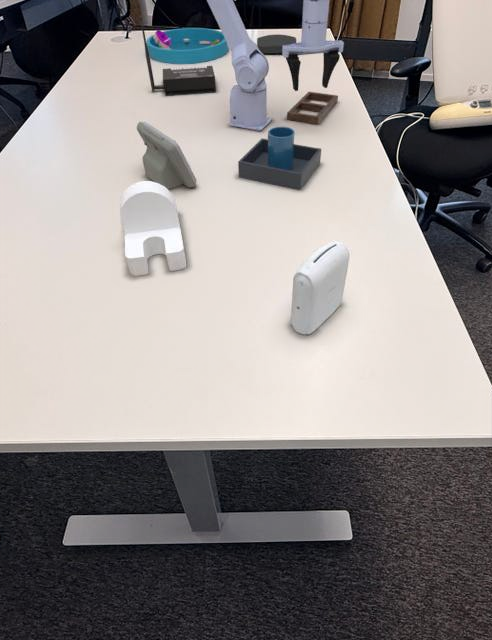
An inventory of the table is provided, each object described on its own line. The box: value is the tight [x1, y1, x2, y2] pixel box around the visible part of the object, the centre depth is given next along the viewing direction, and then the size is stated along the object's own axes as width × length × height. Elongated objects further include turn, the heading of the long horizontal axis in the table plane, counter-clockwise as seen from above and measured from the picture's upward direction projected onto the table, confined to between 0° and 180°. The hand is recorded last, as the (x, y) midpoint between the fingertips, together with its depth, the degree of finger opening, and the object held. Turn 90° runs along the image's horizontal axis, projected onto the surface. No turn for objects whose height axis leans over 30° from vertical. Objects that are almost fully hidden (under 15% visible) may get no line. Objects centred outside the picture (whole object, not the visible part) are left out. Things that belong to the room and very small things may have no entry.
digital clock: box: [136, 121, 197, 191], centre depth 96 cm, size 16×9×11 cm, turn 26°
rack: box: [286, 91, 339, 125], centre depth 124 cm, size 9×17×2 cm, turn 156°
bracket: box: [119, 180, 187, 277], centre depth 79 cm, size 19×10×11 cm, turn 12°
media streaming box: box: [256, 34, 297, 54], centre depth 162 cm, size 15×15×3 cm
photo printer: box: [290, 240, 351, 336], centre depth 65 cm, size 10×4×12 cm, turn 140°
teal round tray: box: [146, 27, 229, 65], centre depth 161 cm, size 30×30×6 cm
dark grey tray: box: [237, 138, 322, 191], centre depth 100 cm, size 15×13×4 cm
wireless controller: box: [141, 24, 217, 97], centre depth 132 cm, size 20×14×17 cm
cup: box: [267, 126, 295, 171], centre depth 98 cm, size 6×6×8 cm
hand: (310, 88), depth 109 cm, fingers open, 7 cm apart
